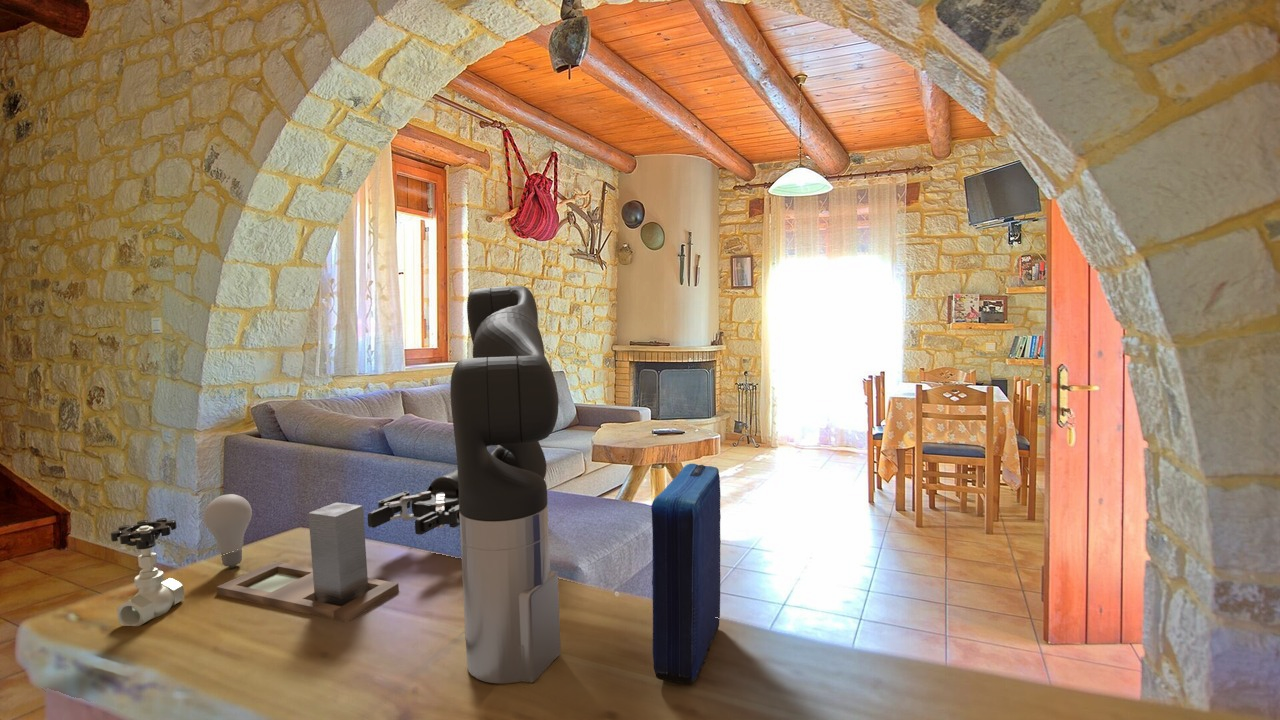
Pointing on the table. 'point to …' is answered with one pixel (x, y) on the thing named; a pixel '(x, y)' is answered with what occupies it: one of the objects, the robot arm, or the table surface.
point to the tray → (300, 591)
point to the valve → (148, 574)
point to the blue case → (686, 572)
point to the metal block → (338, 553)
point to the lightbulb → (228, 525)
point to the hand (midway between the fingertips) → (393, 524)
